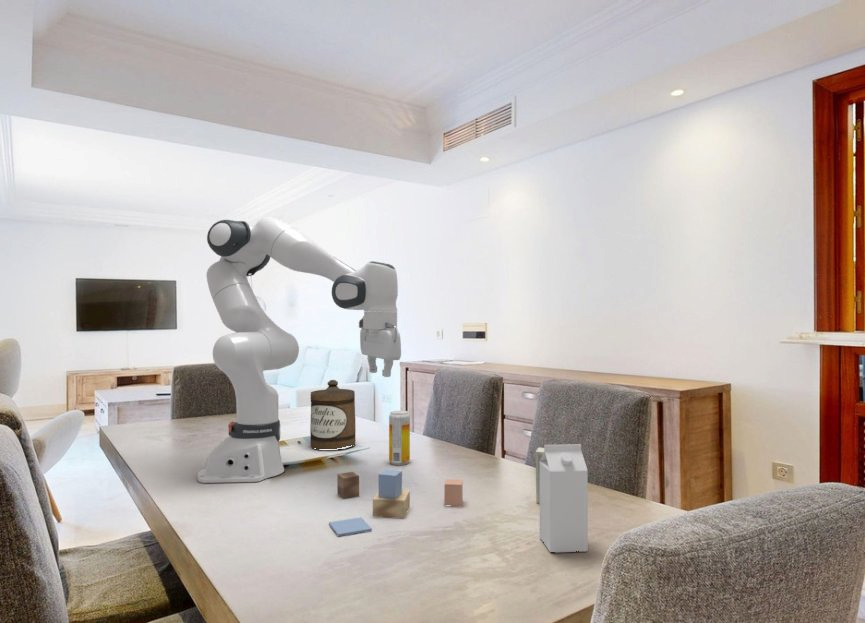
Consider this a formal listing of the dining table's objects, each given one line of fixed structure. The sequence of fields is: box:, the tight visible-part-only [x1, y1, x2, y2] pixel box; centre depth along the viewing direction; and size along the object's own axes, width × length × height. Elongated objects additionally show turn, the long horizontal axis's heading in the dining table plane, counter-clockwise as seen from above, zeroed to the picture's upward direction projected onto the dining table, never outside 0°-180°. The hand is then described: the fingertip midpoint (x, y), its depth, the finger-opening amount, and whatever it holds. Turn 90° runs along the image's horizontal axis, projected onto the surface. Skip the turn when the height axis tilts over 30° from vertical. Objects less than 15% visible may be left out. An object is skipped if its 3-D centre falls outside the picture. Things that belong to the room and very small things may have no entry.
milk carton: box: [539, 443, 589, 553], centre depth 106 cm, size 7×7×19 cm
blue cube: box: [378, 469, 403, 499], centre depth 124 cm, size 4×4×5 cm
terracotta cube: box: [443, 478, 464, 507], centre depth 130 cm, size 4×4×5 cm
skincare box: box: [534, 447, 544, 504], centre depth 131 cm, size 6×4×12 cm
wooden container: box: [309, 379, 357, 449], centre depth 187 cm, size 15×15×22 cm
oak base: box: [372, 489, 411, 518], centre depth 124 cm, size 7×7×4 cm
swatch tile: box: [328, 517, 373, 537], centre depth 115 cm, size 7×7×1 cm
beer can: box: [388, 410, 411, 466], centre depth 165 cm, size 6×6×15 cm
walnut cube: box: [336, 471, 360, 500], centre depth 135 cm, size 4×4×5 cm
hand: (379, 374), depth 149 cm, fingers open, 8 cm apart
